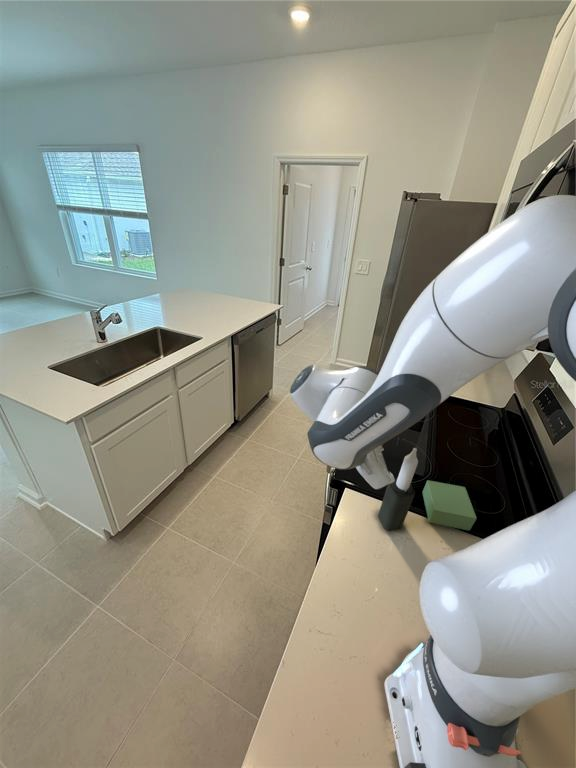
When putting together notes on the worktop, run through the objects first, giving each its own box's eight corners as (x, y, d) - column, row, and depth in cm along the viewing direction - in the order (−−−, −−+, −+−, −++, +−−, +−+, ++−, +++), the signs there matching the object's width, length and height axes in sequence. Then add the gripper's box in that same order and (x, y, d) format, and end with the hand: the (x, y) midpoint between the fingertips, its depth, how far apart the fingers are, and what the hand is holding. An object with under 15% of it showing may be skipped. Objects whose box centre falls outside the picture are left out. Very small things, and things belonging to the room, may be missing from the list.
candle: (385, 531, 77) (411, 457, 64) (376, 513, 81) (398, 441, 68) (403, 528, 78) (432, 455, 65) (394, 511, 82) (419, 439, 69)
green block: (469, 530, 78) (476, 518, 76) (428, 522, 80) (434, 510, 77) (459, 499, 87) (465, 487, 84) (422, 492, 88) (427, 480, 86)
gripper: (372, 455, 54) (413, 495, 59) (354, 393, 72) (386, 428, 77) (343, 471, 56) (385, 509, 61) (332, 407, 74) (365, 441, 79)
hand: (385, 463), depth 69 cm, fingers open, 8 cm apart
